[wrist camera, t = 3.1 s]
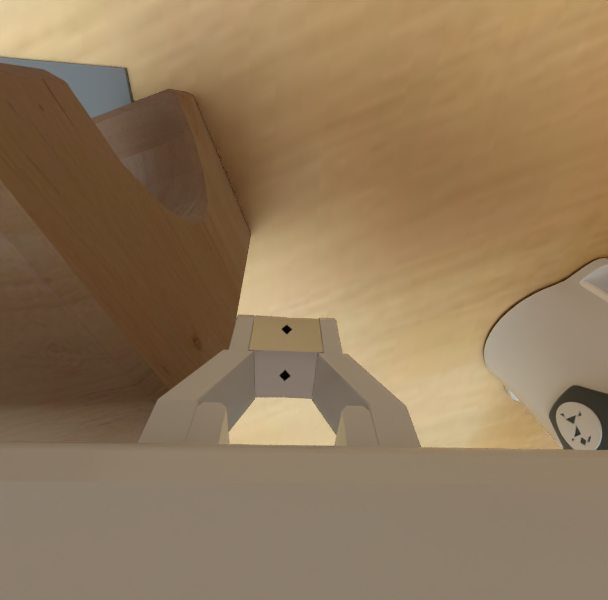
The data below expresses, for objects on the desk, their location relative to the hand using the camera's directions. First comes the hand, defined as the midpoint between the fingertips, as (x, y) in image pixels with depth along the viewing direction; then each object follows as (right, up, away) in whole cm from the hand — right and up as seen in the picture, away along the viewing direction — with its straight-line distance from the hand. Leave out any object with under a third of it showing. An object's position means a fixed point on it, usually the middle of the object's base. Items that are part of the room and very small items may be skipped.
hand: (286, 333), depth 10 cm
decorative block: (-8, +10, +15) cm, 20 cm away
